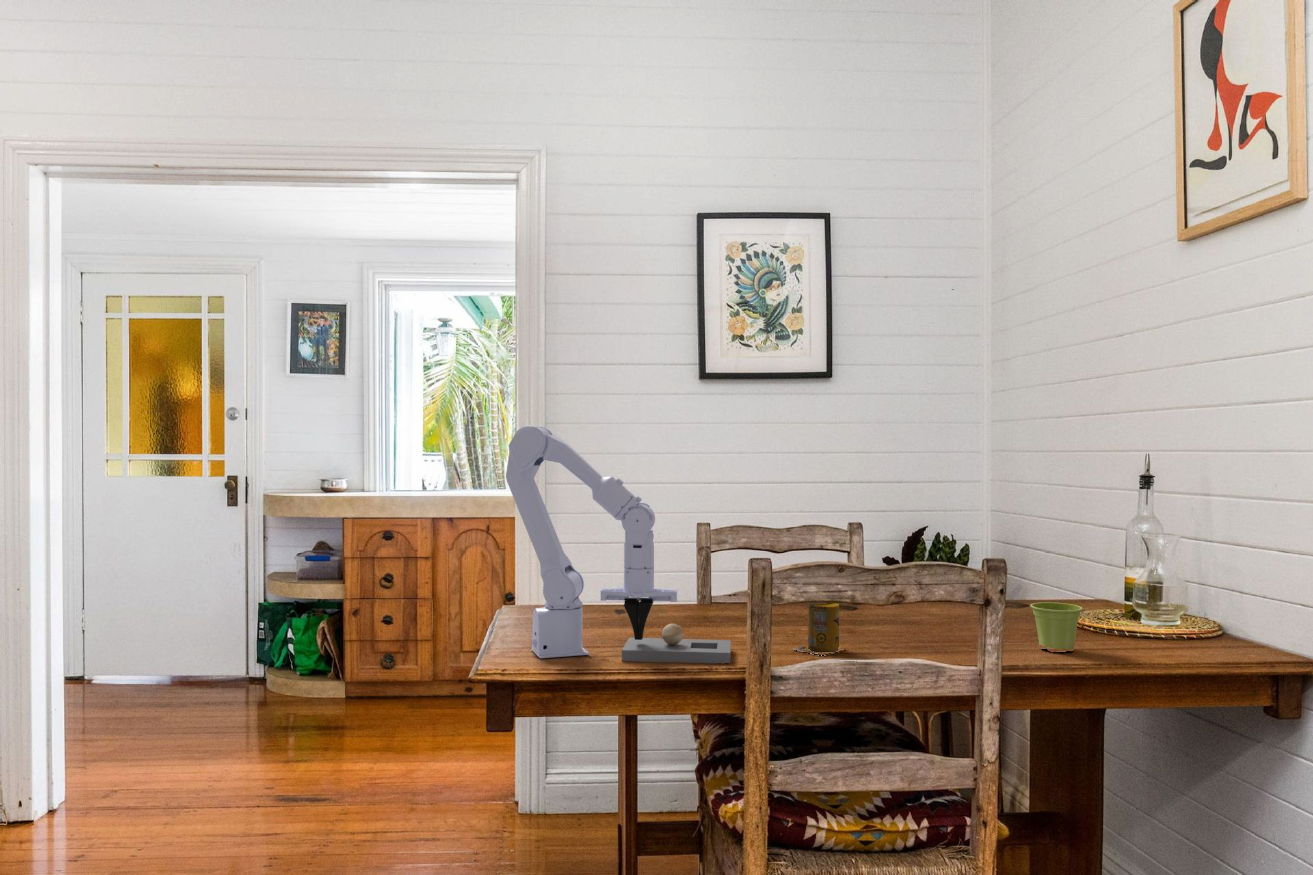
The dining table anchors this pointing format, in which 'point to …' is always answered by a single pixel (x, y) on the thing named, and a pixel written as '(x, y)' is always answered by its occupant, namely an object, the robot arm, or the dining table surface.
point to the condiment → (822, 628)
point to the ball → (672, 634)
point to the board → (677, 651)
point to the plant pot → (1056, 624)
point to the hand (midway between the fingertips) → (638, 638)
